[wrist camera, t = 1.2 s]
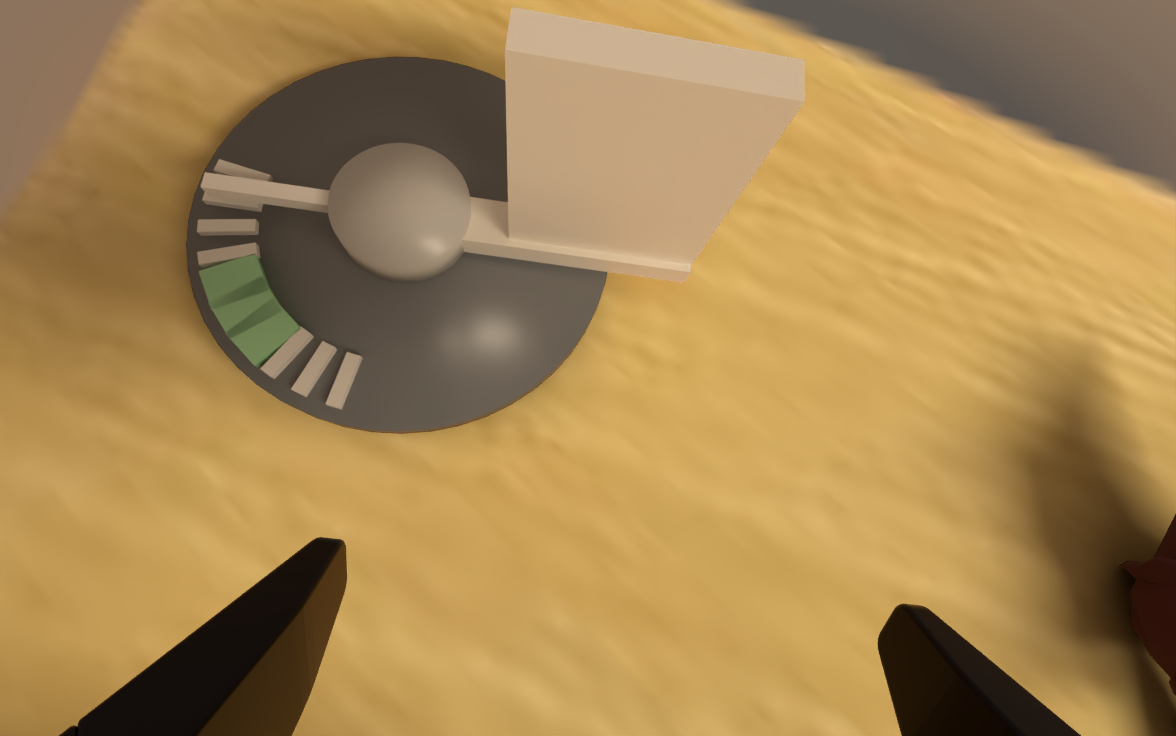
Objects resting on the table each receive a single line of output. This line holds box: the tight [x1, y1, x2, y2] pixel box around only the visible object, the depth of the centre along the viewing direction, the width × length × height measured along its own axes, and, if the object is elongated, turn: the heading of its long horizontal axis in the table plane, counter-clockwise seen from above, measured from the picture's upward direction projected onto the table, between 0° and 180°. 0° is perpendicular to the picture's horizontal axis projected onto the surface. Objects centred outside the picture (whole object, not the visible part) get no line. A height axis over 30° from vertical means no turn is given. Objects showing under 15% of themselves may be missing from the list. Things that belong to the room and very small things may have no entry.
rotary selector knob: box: [200, 7, 804, 283], centre depth 18 cm, size 18×5×10 cm, turn 84°
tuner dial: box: [186, 57, 607, 434], centre depth 23 cm, size 16×16×1 cm
